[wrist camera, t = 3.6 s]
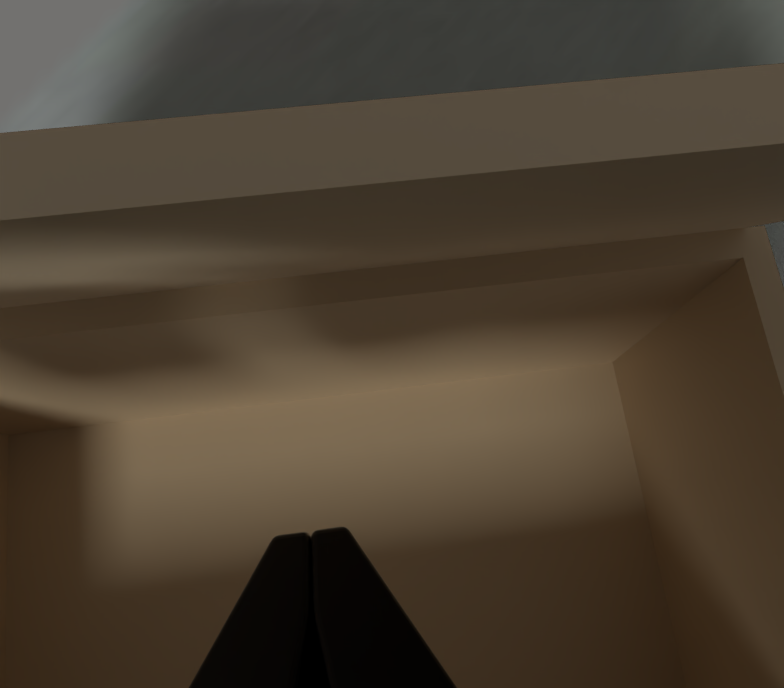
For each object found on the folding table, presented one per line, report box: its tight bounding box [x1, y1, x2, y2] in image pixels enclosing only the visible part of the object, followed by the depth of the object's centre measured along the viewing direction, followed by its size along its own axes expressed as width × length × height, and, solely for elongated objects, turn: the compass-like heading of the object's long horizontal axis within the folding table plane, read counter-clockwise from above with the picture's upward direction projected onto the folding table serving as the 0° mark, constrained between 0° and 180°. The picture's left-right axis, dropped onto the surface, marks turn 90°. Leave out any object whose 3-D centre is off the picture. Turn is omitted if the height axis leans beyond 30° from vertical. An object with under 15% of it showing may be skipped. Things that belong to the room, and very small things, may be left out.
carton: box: [0, 226, 784, 688], centre depth 16 cm, size 12×18×8 cm, turn 98°
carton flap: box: [0, 63, 784, 308], centre depth 8 cm, size 10×17×1 cm
